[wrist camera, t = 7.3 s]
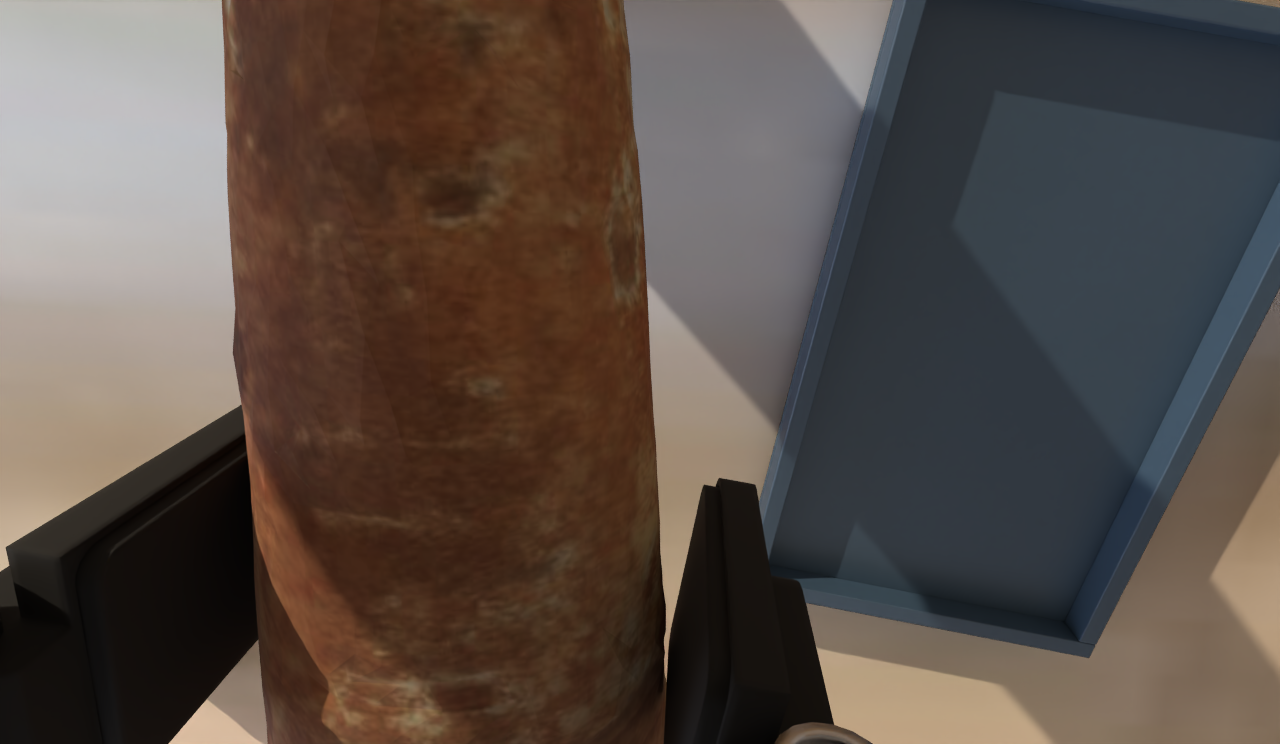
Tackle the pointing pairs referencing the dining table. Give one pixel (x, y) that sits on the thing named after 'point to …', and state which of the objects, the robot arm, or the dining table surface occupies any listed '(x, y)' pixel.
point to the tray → (1027, 308)
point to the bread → (445, 371)
